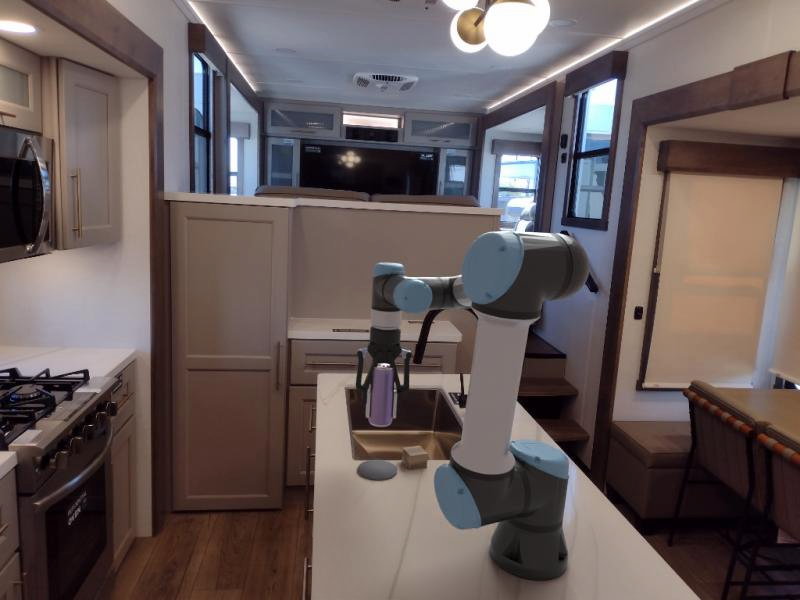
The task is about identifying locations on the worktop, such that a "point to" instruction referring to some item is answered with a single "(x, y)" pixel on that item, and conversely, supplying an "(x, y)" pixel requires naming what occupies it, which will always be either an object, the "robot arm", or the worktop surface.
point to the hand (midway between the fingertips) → (380, 415)
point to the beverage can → (382, 395)
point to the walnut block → (414, 457)
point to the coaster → (377, 470)
